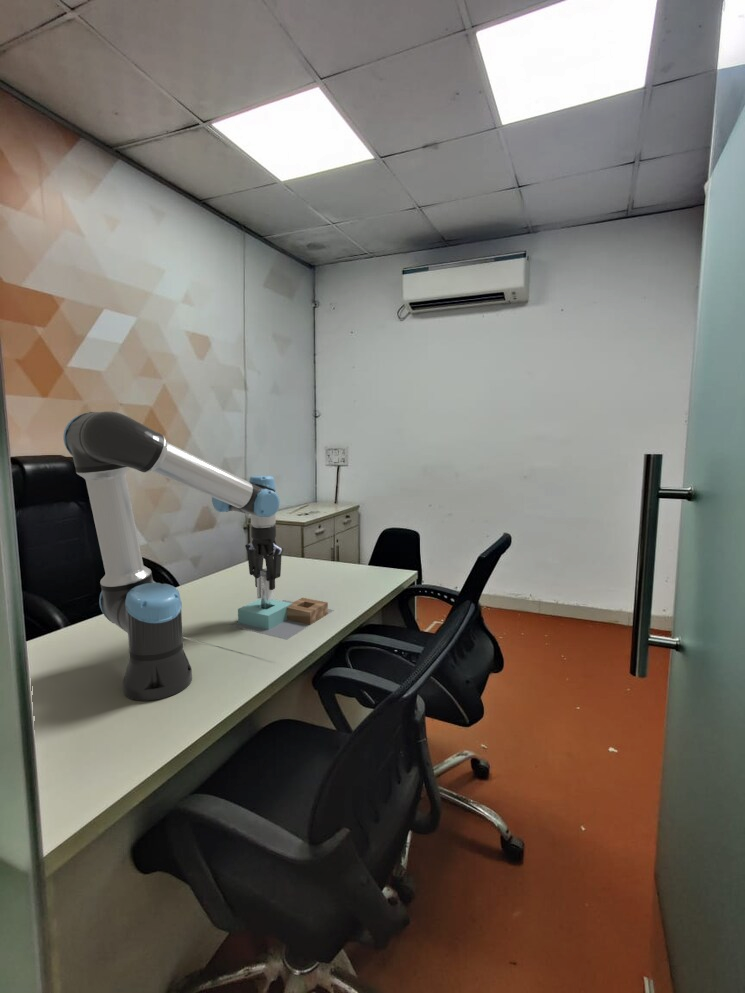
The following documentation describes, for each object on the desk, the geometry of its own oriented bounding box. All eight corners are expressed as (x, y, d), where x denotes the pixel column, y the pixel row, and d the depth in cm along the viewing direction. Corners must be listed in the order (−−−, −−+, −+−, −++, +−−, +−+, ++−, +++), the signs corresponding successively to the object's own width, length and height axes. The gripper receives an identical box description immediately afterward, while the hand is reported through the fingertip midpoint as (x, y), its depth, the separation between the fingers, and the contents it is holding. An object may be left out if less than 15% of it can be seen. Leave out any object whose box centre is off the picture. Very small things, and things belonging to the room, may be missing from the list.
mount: (310, 624, 149) (310, 612, 149) (284, 619, 154) (284, 607, 153) (327, 614, 158) (327, 602, 158) (302, 608, 163) (302, 597, 162)
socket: (268, 629, 146) (268, 615, 145) (238, 622, 151) (237, 609, 150) (292, 616, 156) (292, 603, 156) (263, 610, 162) (263, 597, 161)
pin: (266, 618, 152) (265, 571, 149) (259, 616, 153) (257, 570, 151) (272, 615, 154) (271, 569, 152) (265, 613, 156) (264, 568, 153)
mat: (286, 641, 139) (286, 639, 139) (231, 627, 148) (231, 625, 148) (334, 611, 162) (334, 610, 162) (283, 601, 171) (283, 599, 171)
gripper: (291, 525, 149) (293, 598, 152) (251, 521, 156) (253, 590, 160) (276, 530, 143) (278, 606, 146) (235, 525, 150) (237, 597, 153)
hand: (265, 598), depth 153 cm, fingers closed on pin, 3 cm apart
